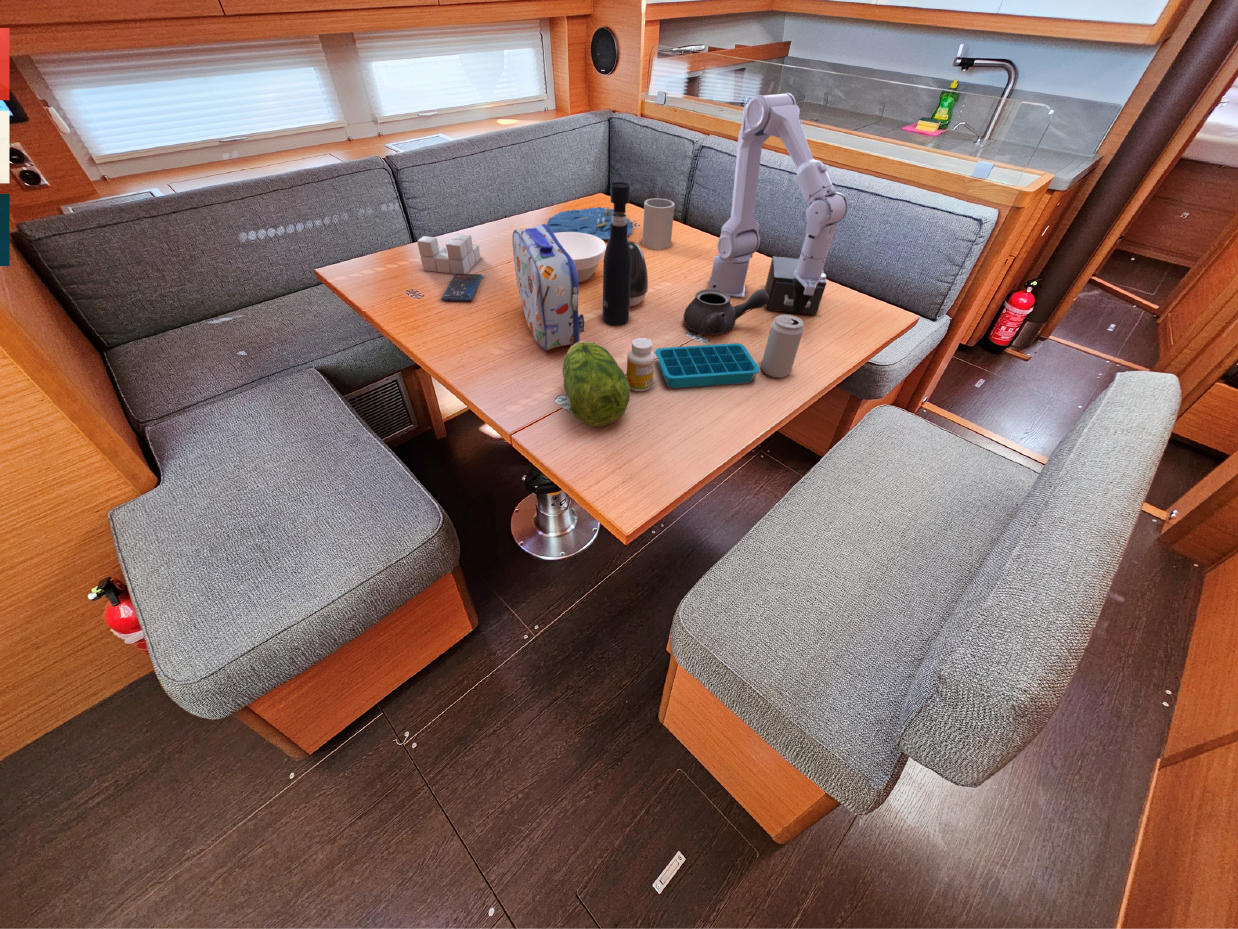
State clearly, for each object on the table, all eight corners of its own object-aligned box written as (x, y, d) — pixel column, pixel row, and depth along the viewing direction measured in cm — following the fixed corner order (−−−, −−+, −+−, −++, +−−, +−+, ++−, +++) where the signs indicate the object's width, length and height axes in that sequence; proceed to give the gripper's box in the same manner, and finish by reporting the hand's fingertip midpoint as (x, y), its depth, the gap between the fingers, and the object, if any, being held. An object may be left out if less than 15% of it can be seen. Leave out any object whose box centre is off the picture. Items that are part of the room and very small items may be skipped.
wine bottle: (632, 316, 127) (640, 182, 106) (623, 327, 122) (630, 191, 102) (607, 311, 128) (611, 178, 107) (598, 322, 124) (600, 186, 103)
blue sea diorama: (603, 256, 157) (603, 238, 153) (527, 232, 167) (526, 215, 164) (652, 225, 174) (653, 209, 170) (581, 205, 185) (580, 190, 181)
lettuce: (606, 368, 109) (607, 320, 101) (635, 429, 95) (638, 378, 87) (553, 375, 107) (550, 326, 99) (574, 438, 92) (572, 386, 85)
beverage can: (790, 381, 108) (806, 330, 100) (759, 377, 109) (773, 325, 101) (789, 365, 113) (804, 315, 105) (759, 361, 114) (773, 311, 105)
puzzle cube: (480, 258, 149) (476, 229, 143) (464, 275, 140) (459, 245, 135) (441, 254, 150) (436, 225, 145) (423, 270, 141) (416, 241, 136)
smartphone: (482, 273, 139) (470, 299, 128) (482, 276, 140) (471, 302, 129) (454, 272, 139) (440, 297, 128) (454, 275, 139) (441, 300, 128)
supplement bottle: (624, 377, 107) (626, 335, 100) (650, 376, 108) (654, 335, 101) (627, 392, 103) (629, 350, 97) (653, 391, 104) (657, 349, 97)
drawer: (816, 321, 126) (825, 295, 122) (769, 316, 127) (776, 290, 123) (811, 292, 138) (818, 267, 134) (768, 287, 139) (774, 263, 135)
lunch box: (590, 356, 113) (590, 255, 98) (544, 364, 110) (537, 261, 94) (554, 301, 131) (549, 209, 116) (514, 307, 128) (503, 213, 113)
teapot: (690, 346, 117) (697, 305, 110) (678, 314, 128) (683, 275, 121) (770, 344, 119) (781, 304, 112) (750, 313, 130) (759, 274, 123)
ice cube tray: (758, 384, 107) (762, 372, 105) (665, 391, 104) (666, 378, 102) (739, 354, 115) (742, 342, 113) (652, 360, 112) (653, 348, 110)
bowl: (522, 281, 139) (519, 250, 133) (555, 256, 152) (554, 227, 146) (588, 296, 134) (588, 264, 128) (616, 268, 147) (617, 239, 141)
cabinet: (816, 315, 131) (826, 282, 125) (766, 309, 132) (774, 276, 126) (811, 292, 140) (821, 261, 134) (765, 287, 142) (772, 256, 136)
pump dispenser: (614, 290, 137) (616, 231, 126) (651, 297, 135) (656, 237, 124) (600, 306, 130) (601, 245, 119) (639, 314, 128) (644, 252, 117)
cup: (671, 249, 159) (675, 208, 151) (642, 248, 159) (644, 207, 150) (669, 239, 165) (673, 199, 157) (641, 237, 165) (644, 197, 157)
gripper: (836, 269, 108) (817, 327, 118) (828, 244, 119) (811, 299, 128) (802, 265, 109) (785, 323, 119) (797, 241, 120) (782, 296, 129)
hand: (797, 310), depth 123 cm, fingers closed
